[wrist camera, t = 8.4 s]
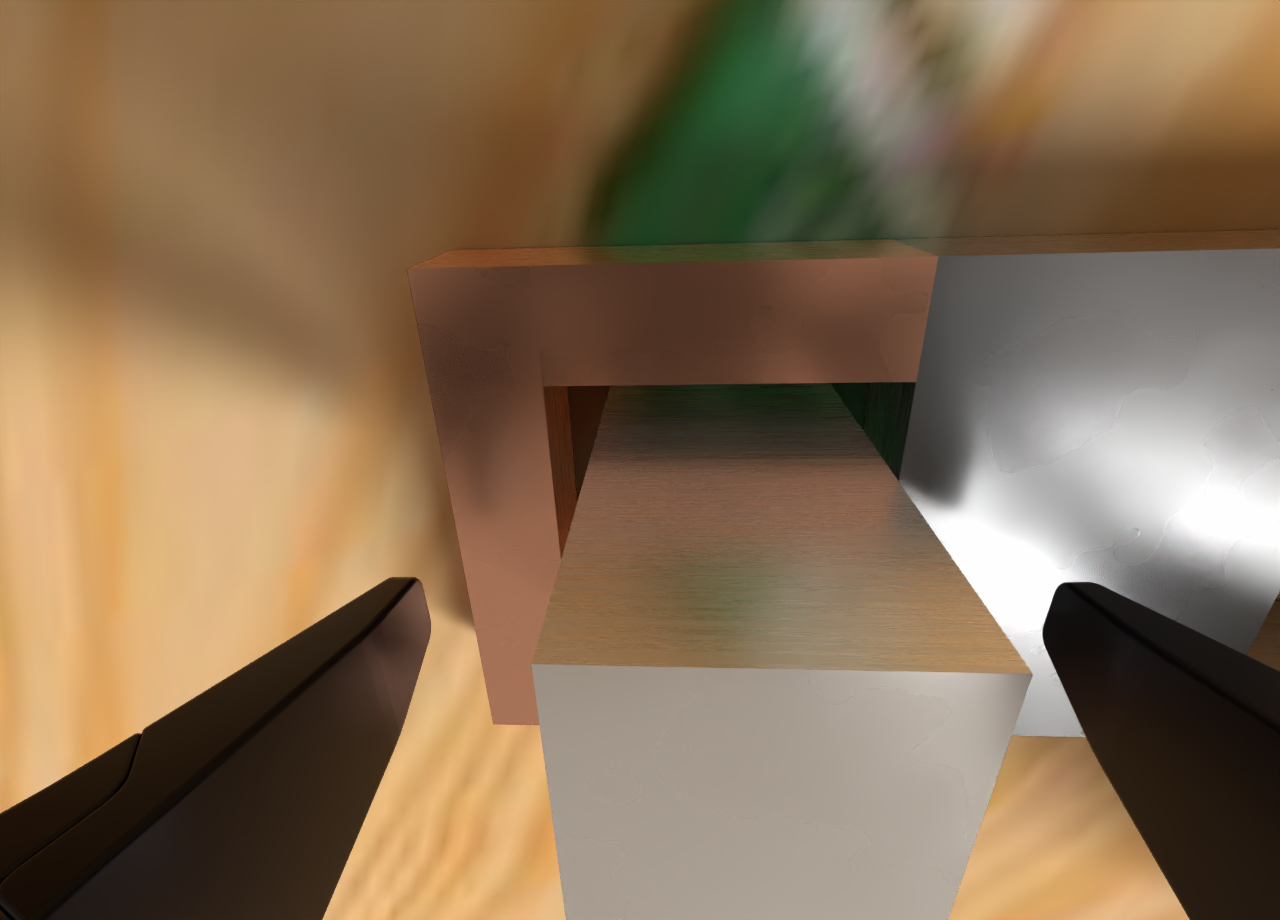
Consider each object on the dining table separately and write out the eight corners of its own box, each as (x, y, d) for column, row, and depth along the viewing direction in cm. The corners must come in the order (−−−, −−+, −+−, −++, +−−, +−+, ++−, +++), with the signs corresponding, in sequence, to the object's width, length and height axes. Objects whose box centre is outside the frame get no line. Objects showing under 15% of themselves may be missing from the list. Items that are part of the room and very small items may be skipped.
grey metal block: (830, 383, 11) (1033, 674, 5) (808, 564, 13) (936, 950, 7) (610, 384, 11) (531, 665, 5) (618, 562, 13) (568, 934, 7)
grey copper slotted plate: (1834, 215, 9) (2119, 228, 7) (1485, 668, 13) (1614, 748, 11) (452, 249, 10) (406, 268, 9) (516, 653, 14) (493, 724, 12)
